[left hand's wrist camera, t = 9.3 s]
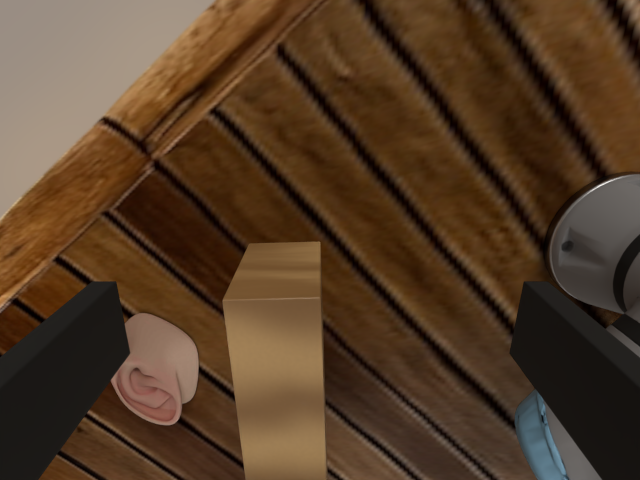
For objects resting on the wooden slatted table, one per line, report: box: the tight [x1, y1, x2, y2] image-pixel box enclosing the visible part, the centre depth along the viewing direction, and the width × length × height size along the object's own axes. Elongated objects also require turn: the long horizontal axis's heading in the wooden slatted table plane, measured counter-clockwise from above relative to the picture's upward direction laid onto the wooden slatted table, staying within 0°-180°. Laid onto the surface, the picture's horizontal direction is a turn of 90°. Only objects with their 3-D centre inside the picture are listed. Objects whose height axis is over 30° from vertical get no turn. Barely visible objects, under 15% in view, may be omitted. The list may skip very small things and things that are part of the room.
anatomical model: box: [111, 313, 199, 425], centre depth 48 cm, size 13×4×12 cm
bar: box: [223, 242, 328, 480], centre depth 29 cm, size 26×5×9 cm, turn 2°
